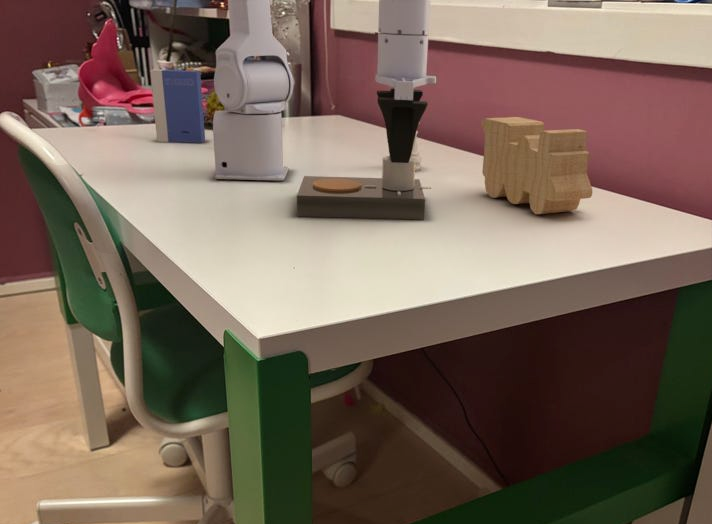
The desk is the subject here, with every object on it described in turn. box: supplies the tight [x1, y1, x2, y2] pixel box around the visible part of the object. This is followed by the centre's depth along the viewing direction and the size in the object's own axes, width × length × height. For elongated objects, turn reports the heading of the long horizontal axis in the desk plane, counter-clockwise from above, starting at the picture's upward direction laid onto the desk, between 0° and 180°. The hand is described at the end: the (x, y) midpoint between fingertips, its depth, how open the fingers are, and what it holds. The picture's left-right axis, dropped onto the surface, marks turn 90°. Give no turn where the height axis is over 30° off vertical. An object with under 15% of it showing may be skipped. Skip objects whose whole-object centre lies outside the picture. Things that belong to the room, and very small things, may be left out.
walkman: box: [149, 67, 206, 144], centre depth 128 cm, size 8×3×12 cm, turn 91°
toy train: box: [481, 116, 593, 215], centre depth 95 cm, size 6×17×10 cm, turn 27°
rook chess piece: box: [411, 121, 423, 172], centre depth 114 cm, size 4×4×8 cm
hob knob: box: [381, 155, 416, 191], centre depth 91 cm, size 4×4×4 cm
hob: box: [296, 175, 432, 221], centre depth 92 cm, size 16×11×3 cm
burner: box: [313, 179, 362, 192], centre depth 91 cm, size 6×6×1 cm
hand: (398, 156), depth 90 cm, fingers open, 7 cm apart
